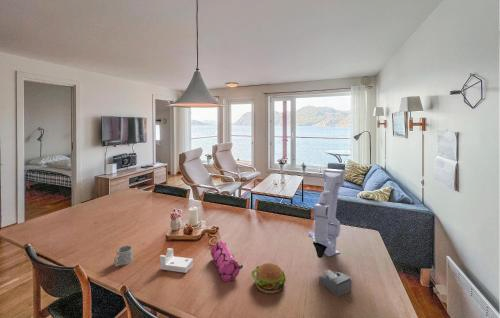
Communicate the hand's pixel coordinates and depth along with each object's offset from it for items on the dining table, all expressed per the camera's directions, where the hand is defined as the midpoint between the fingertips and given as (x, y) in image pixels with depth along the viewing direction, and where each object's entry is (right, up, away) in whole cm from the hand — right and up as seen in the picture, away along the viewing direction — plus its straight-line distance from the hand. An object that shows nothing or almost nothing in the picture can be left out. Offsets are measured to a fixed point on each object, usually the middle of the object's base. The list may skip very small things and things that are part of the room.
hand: (320, 257), depth 109 cm
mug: (-95, -6, +6) cm, 95 cm away
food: (-25, -8, -10) cm, 28 cm away
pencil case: (-45, -6, +1) cm, 45 cm away
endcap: (+3, -8, -12) cm, 15 cm away
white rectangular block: (+2, -8, -11) cm, 13 cm away
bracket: (-67, -6, +2) cm, 68 cm away
